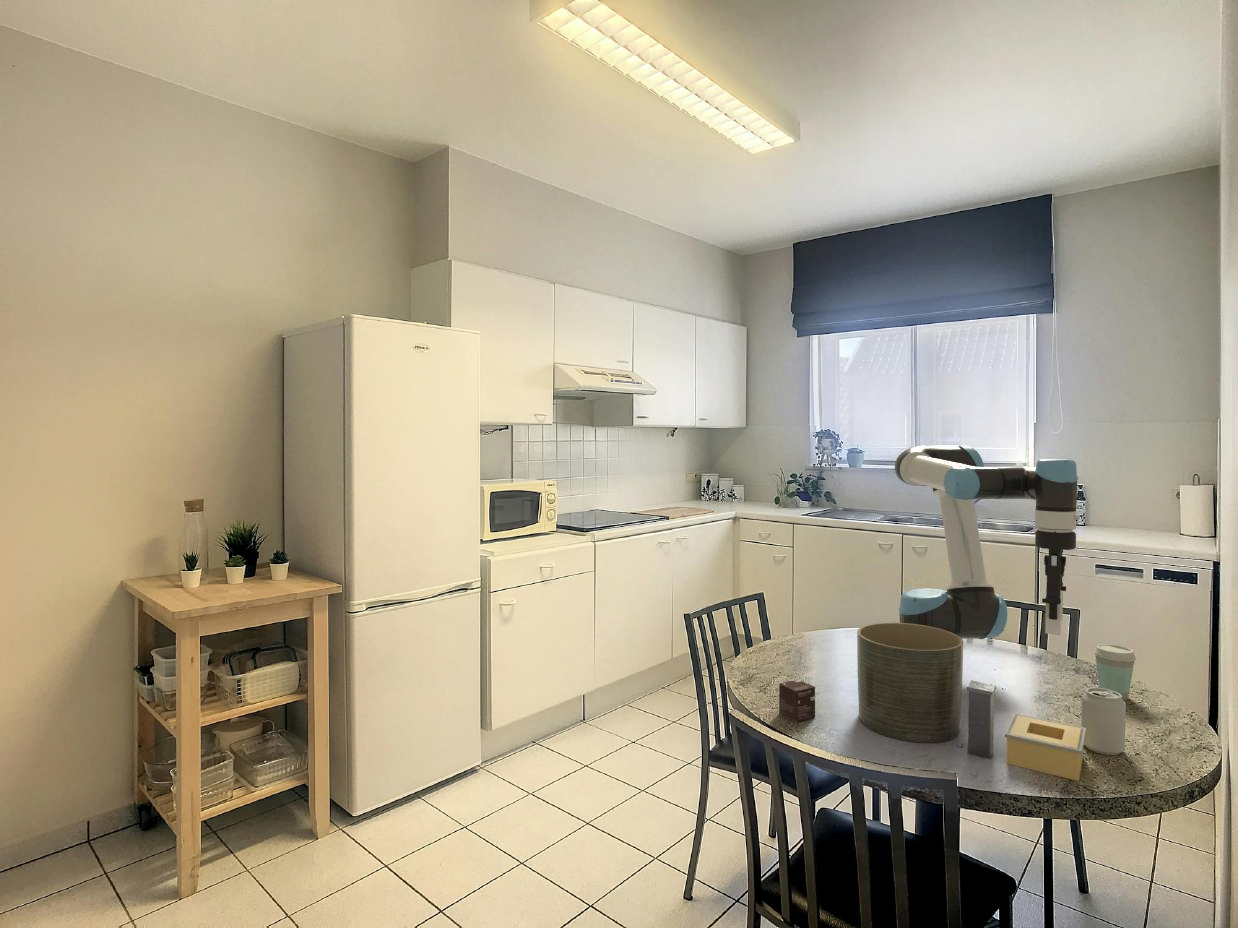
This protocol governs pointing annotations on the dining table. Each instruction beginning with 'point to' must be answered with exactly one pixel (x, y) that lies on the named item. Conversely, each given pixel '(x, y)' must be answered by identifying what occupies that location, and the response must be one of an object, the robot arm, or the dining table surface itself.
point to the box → (797, 700)
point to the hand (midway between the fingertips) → (1054, 626)
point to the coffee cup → (1115, 668)
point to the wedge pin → (980, 719)
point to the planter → (910, 681)
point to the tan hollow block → (1045, 746)
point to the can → (1104, 721)
